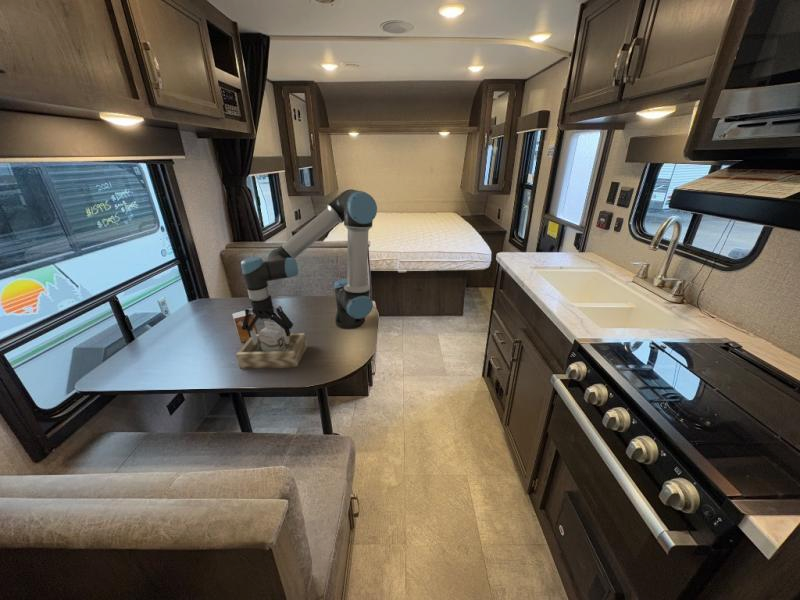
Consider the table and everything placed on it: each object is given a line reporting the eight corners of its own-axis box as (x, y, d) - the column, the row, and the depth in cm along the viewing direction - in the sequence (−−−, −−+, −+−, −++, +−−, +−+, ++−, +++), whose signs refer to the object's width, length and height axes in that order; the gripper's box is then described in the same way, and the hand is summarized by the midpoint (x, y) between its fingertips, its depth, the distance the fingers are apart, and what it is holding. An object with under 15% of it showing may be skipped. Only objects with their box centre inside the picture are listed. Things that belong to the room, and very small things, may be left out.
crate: (307, 346, 138) (304, 333, 135) (296, 367, 124) (293, 353, 121) (256, 347, 138) (252, 334, 135) (240, 368, 125) (235, 354, 122)
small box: (241, 343, 142) (233, 318, 137) (239, 337, 147) (231, 313, 141) (259, 337, 146) (252, 313, 141) (256, 332, 151) (250, 308, 145)
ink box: (263, 356, 130) (255, 326, 124) (270, 349, 134) (263, 320, 128) (279, 359, 128) (272, 329, 121) (287, 352, 132) (280, 323, 125)
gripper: (295, 292, 122) (303, 337, 131) (233, 293, 123) (246, 338, 132) (288, 300, 116) (298, 347, 125) (223, 301, 116) (238, 348, 125)
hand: (271, 342), depth 128 cm, fingers open, 13 cm apart
